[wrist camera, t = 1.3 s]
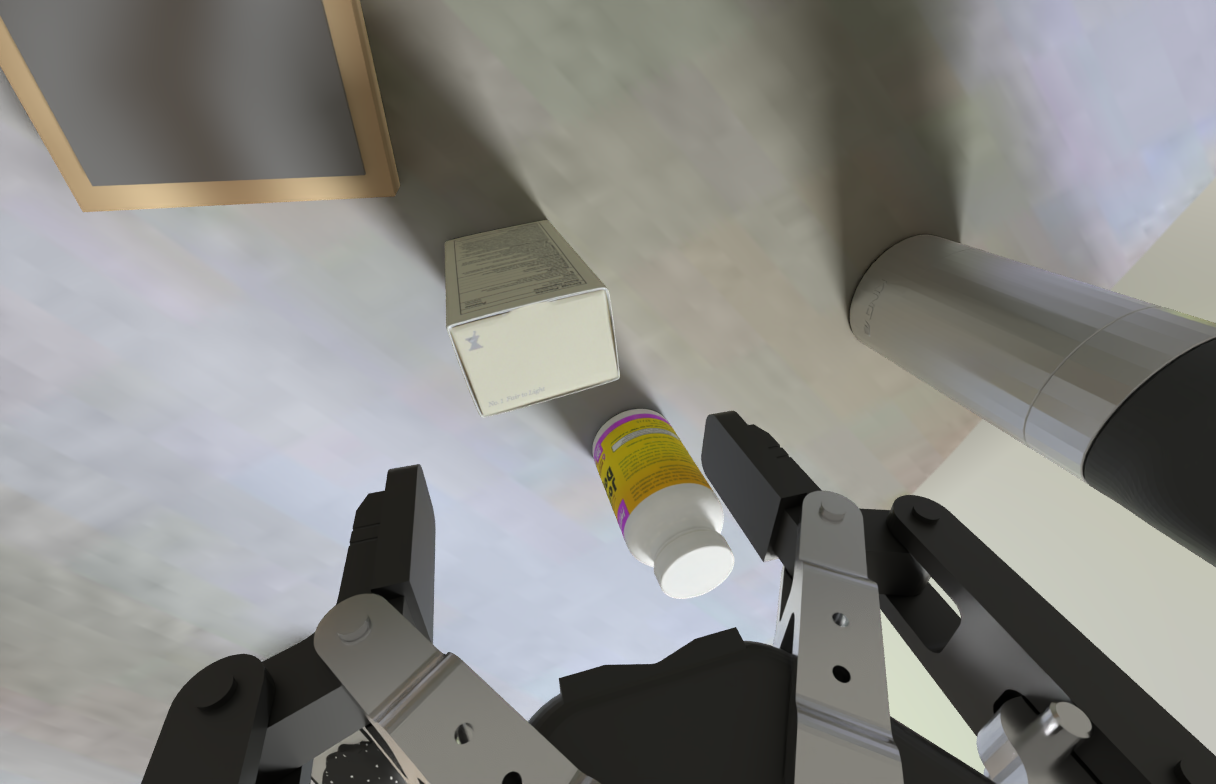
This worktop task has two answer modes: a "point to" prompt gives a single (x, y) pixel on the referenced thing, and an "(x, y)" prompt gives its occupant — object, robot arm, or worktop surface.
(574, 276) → the skincare box
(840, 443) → the worktop surface
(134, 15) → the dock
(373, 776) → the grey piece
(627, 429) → the supplement bottle
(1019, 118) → the worktop surface
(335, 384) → the worktop surface
